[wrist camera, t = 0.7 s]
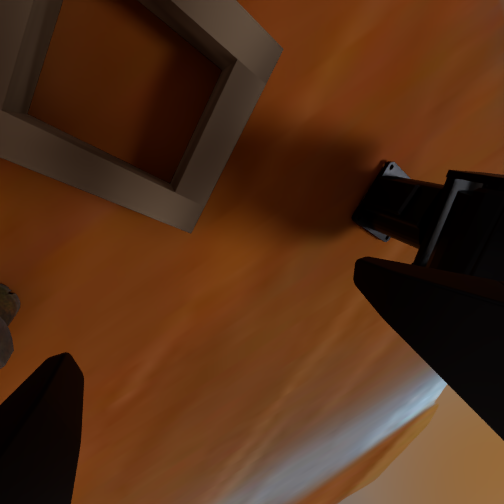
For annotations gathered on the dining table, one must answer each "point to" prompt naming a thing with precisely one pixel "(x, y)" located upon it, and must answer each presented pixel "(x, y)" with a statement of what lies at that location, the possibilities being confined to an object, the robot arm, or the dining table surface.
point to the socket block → (107, 166)
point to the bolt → (6, 322)
